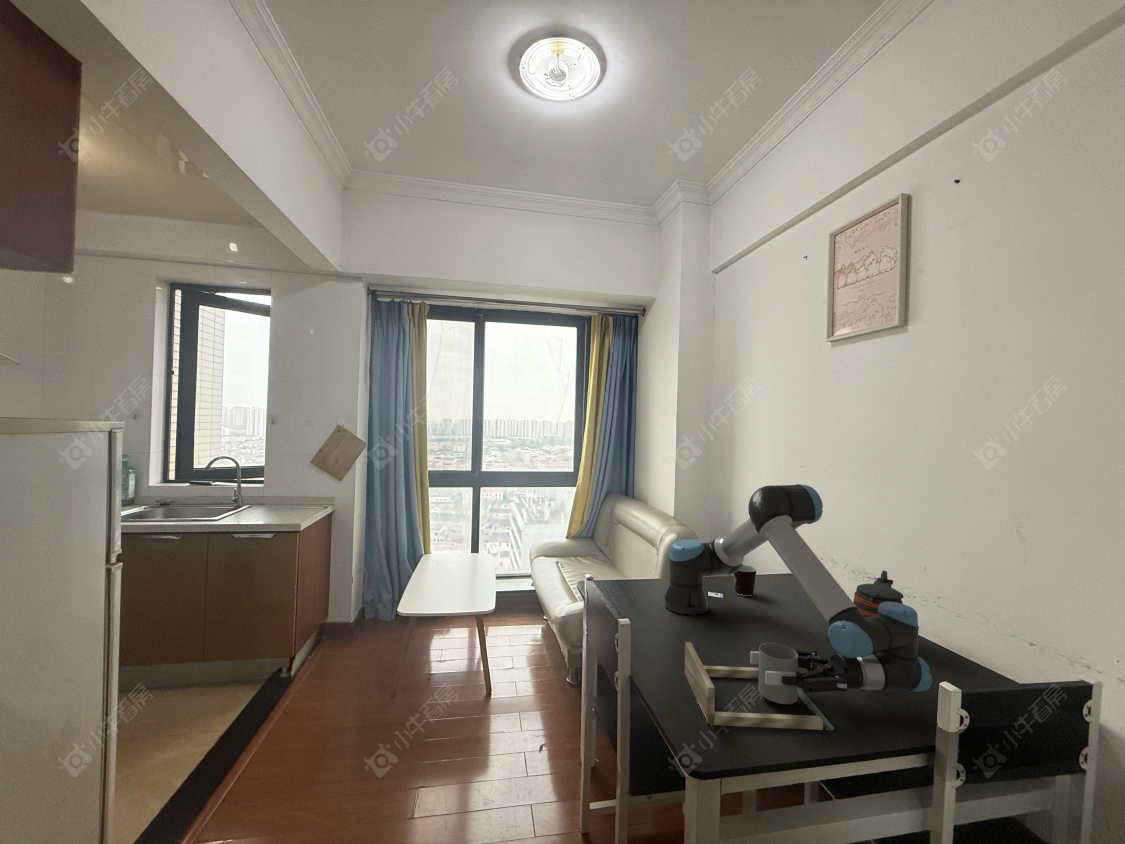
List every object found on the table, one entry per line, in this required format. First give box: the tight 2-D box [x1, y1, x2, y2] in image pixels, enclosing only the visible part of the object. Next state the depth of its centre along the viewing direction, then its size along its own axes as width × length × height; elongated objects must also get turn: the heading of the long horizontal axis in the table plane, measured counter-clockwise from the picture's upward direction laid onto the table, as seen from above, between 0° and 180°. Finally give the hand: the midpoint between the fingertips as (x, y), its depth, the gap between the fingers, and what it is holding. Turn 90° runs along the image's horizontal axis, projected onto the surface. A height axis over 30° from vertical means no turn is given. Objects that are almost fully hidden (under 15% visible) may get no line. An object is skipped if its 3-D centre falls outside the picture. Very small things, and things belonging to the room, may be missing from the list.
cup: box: [757, 642, 799, 705], centre depth 108 cm, size 8×8×10 cm
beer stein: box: [852, 570, 904, 617], centre depth 140 cm, size 19×15×20 cm
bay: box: [684, 641, 835, 731], centre depth 108 cm, size 27×21×8 cm
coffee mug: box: [732, 564, 757, 596], centre depth 179 cm, size 12×9×10 cm
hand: (758, 667), depth 108 cm, fingers closed on cup, 8 cm apart
